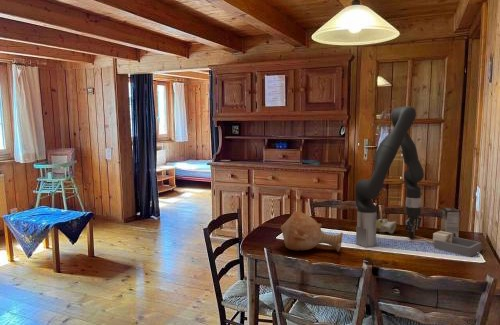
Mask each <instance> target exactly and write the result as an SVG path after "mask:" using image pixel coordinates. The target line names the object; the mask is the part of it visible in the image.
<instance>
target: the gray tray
mask: <svg viewBox="0 0 500 325" xmlns="http://www.w3.org/2000/svg"><path fill="white" fill-rule="evenodd" d="M433 244H434V249H436V250H440V251H443V252H444V251H445V252H448V253H452V254H457V255H461V256H464V257H468V258H471V257H472V256H475V255H477V252H478V253H480V252H481V251H482V246H483V244H482V242H481V241H476V240H472V239H466V238H462V237H459V236H458V237H454V236H452V243H448V242H443V241H439V240H434V243H433Z"/></svg>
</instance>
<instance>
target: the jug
mask: <svg viewBox="0 0 500 325" xmlns="http://www.w3.org/2000/svg"><path fill="white" fill-rule="evenodd" d="M322 226H323V224H322V223H318V222H317V221H316V220H315V218H314V217H313V218H312V217H311V216H310V215H309V214H306V213H305V212H302V211H297V210H296V211H294V212H293V213H292V214H291V215H290V216H289V218H288V219H287V220H286V221H285V222H284V223H283V224H282V225H281V226H280V230H281V233H282V237H283V242H284V246H285V248H287V249H288V250H291V251H297V252H298V251H299V252H300V250H301V251H308V250H311V249H314V248H315V247H316V246H318V245H319V244H326V245H329V246H331V247H333V248H334V249H335V250H336V252H337V253H339V251H340V250H341V248H342V241H343V237H344V236H343V235H344V233H343V232H340V234H328V233H325V232H323V231H322V229H321V228H322Z"/></svg>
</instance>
